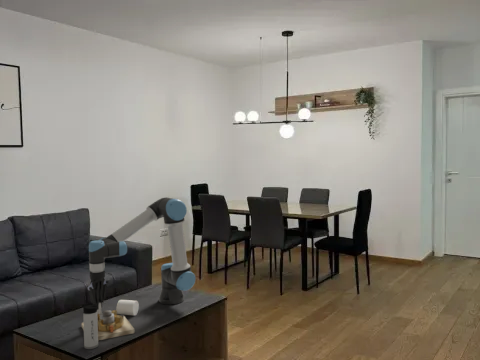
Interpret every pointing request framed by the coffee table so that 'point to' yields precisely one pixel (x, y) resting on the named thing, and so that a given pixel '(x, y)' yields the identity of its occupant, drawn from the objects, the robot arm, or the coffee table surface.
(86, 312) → the travel mug
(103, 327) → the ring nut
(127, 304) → the mug
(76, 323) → the coffee table surface
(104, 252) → the robot arm
